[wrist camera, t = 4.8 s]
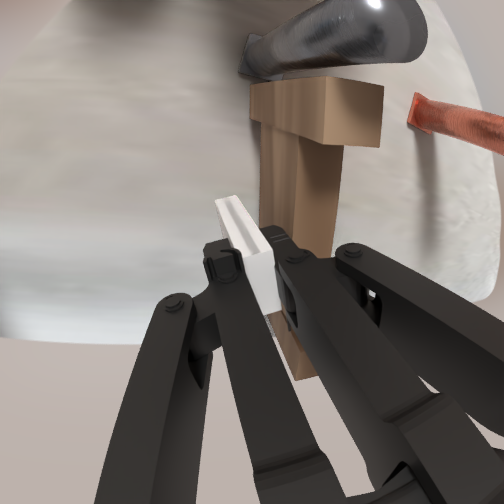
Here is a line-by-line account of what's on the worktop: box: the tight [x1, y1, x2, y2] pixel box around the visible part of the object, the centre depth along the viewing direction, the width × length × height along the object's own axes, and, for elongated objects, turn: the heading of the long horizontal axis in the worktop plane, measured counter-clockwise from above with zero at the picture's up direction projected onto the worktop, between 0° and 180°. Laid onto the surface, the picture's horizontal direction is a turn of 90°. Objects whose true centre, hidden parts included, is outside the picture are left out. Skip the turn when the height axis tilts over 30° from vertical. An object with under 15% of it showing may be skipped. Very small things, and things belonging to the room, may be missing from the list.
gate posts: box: [238, 0, 504, 156], centre depth 13 cm, size 17×4×13 cm, turn 75°
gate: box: [250, 76, 384, 381], centre depth 16 cm, size 2×13×11 cm, turn 0°
